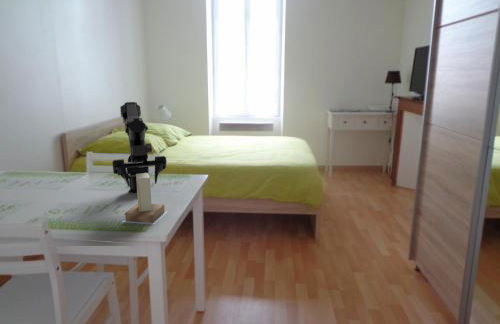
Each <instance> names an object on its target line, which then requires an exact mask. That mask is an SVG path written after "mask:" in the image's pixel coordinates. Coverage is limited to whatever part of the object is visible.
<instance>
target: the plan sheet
mask: <svg viewBox="0 0 500 324" xmlns="http://www.w3.org/2000/svg"><path fill="white" fill-rule="evenodd" d="M164 211H165V210H164ZM168 212H169V211H168V210H166V211H165V212H164V213H163V214H162V215H161V216H160V217H159V218H158V219H157V220H156V221H155V222H153V223H146V222H130V221H126V220H125V219H124V220H122V221H121V223H126V224H140V225H141V224H143V225H156V224H157V223H158V222H159V221H160V220H162V218H163V217H164V216H165V215H166V214H167V213H168Z"/></svg>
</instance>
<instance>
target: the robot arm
mask: <svg viewBox="0 0 500 324" xmlns="http://www.w3.org/2000/svg"><path fill="white" fill-rule="evenodd" d="M119 109H120V118H122V122H123V124H124V133H125V134H127V136H128V147H129V153H130V154H129V156H128V159H127V162H125V159H124V158H120V159H113V160H112V162H111V163H112V170H113V174H115V175H117V176H120V177H122V179H123V180H124V181H125V184H126V185H127V187H129V190H128V193H137V182H136V174H142V173H148V174H149V175H150V173H149V171H150V169H149V167H154V184H155V185H156V184H157V182H158V177H159V175H160V172H162V171H164V170H166V168H167V162H168V161H167V157H166V156H165V155H159V156H154V160H153V159H152V160H148V159H149V154H151V153H152V152H153V148H152V143H146V139H145V138H146V133H147V131H149V127H148V126H147V123H145V122H144V120H143V118H142V117H141V115H142V114H141V113H142V112H141V105H139V104H138V102H135V101H126V102H124V103H123V105H121V106H120V107H119Z"/></svg>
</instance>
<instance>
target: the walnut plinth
mask: <svg viewBox="0 0 500 324" xmlns="http://www.w3.org/2000/svg"><path fill="white" fill-rule="evenodd" d="M151 205H152V210H151V211H143V212H139V208H138V203H136V204H135V205H133V206H132V207H131V208H129V210H127V211H125V212H124V218H125V219H124V220H126V221H130V222H146V223H153V222H155V221H156V220H157V219H158V218H159V217H160V216H161V215H162V214H163V213H164V212H165V204H164V203H163V204H161V203H151Z"/></svg>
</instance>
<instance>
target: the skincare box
mask: <svg viewBox="0 0 500 324" xmlns="http://www.w3.org/2000/svg"><path fill="white" fill-rule="evenodd" d="M136 182H137V192H136V193H137V204H138V208H139V212H143V211H151V210H152V205H151V204H152V189H151V177H150V173H149V174H148V173H142V174H136Z"/></svg>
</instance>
